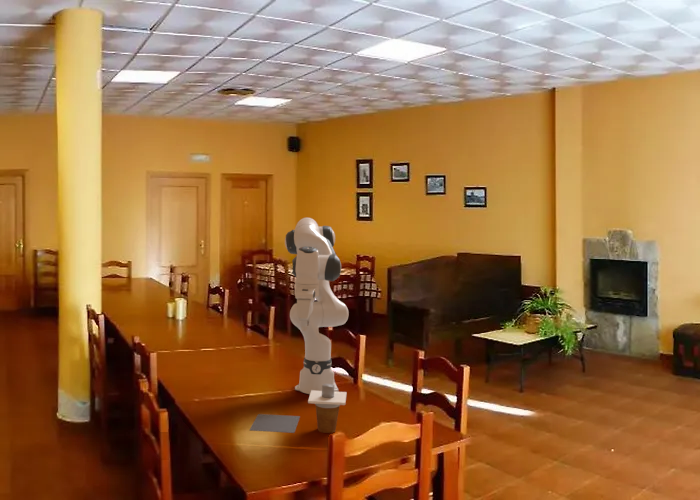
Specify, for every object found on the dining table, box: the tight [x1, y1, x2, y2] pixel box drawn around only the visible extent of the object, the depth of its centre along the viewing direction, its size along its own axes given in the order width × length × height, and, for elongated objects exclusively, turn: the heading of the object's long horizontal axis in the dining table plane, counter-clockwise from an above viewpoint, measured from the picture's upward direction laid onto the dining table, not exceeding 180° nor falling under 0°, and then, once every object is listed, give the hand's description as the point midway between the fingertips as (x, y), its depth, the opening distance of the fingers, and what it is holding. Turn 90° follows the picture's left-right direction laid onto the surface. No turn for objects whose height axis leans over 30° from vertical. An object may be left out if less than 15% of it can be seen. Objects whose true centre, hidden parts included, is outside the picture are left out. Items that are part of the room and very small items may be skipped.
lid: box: [307, 384, 347, 406], centre depth 239 cm, size 13×13×5 cm
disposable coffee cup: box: [314, 404, 341, 434], centre depth 239 cm, size 10×10×12 cm
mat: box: [249, 413, 301, 434], centre depth 244 cm, size 18×16×1 cm
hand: (305, 328), depth 247 cm, fingers open, 8 cm apart
